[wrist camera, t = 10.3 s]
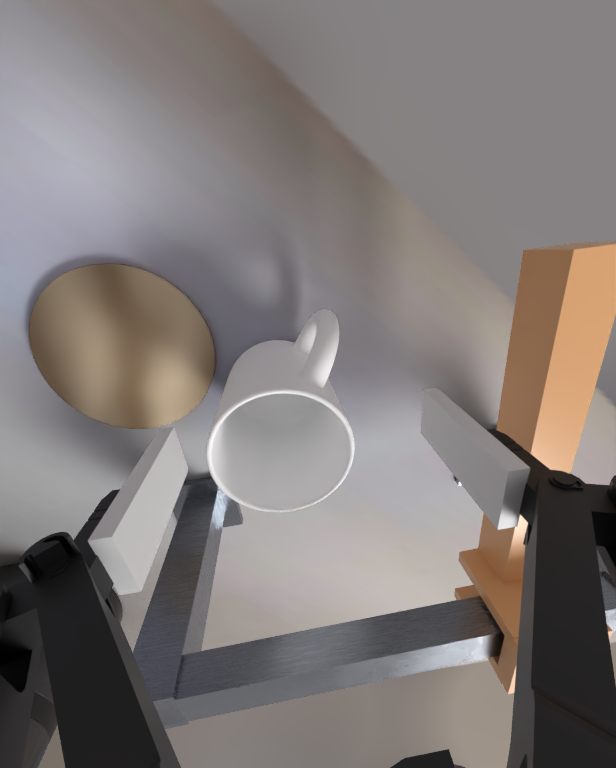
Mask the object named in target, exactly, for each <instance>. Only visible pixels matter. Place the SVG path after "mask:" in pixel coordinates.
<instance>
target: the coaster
mask: <svg viewBox="0 0 616 768" xmlns="http://www.w3.org/2000/svg"><path fill="white" fill-rule="evenodd" d="M29 338H30V346H31V350H32V353H33V357H34V359H35V362H36V364H37V366H38V369H39V370H40V372H41V374H42V375H43V377H44V379H45V380H46V381H47V383H48V384H49V385H50V387H51V388H52V389H53V390H54V391H55V392H56V393H57V394H58V395H59V396H60V397H61V398H62V399H63V400H64V401H65V402H67V403H68V404H69V405H70V406H72V407H73V408H75V409H76V410H78V411H79V412H81V413H83V414H85V415H86V416H88V417H90V418H93V419H95V420H97V421H100V422H103V423H106V424H109V425H113V426H117V427H122V428H131V429H145V428H154V427H159V426H163V425H166V424H169V423H172V422H174V421H176V420H178V419H180V418H182V417H184V416H185V415H187V414H188V413H190V412H191V411H192V410H193V409H194V408H195V407H196V406H197V405H198V404H199V403H200V402H201V400H202V399H203V397H204V396H205V394H206V393H207V391H208V388H209V386H210V384H211V381H212V378H213V374H214V370H215V348H214V343H213V339H212V336H211V333H210V330H209V328H208V325H207V323H206V321H205V319H204V318H203V316H202V315H201V313H200V311H199V310H198V309H197V307H196V306H195V305H194V304H193V303H192V301H191V300H190V299H189V298H188V297H187V296H186V295H185V294H184V293H183V292H182V291H180V290H179V289H178V288H176V287H175V286H174V285H173V284H171V283H169V282H168V281H166V280H165V279H163V278H161V277H159V276H157V275H155V274H153V273H151V272H149V271H146V270H143V269H140V268H137V267H132V266H127V265H122V264H95V265H88V266H84V267H79V268H76V269H74V270H71V271H68V272H66V273H65V274H63V275H61V276H59V277H57V278H56V279H55V280H54V281H52V282H51V283H50V284H49V285H48V286H47V287H46V288H45V289H44V290H43V292H42V293H41V294H40V296H39V297H38V299H37V301H36V302H35V305H34V308H33V310H32V313H31V318H30V323H29Z"/></svg>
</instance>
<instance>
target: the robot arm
mask: <svg viewBox="0 0 616 768" xmlns="http://www.w3.org/2000/svg"><path fill="white" fill-rule="evenodd" d="M421 434H422V435H423V436H424V438H425V439H426V440H427V441H428V443H429V444H430V445H431V446H432V448H433V449H434V450H435V451H436V453H437V454H438V455H439V457H440V458H441V459H442V460H443V462H444V463H445V464H446V465H447V467H448V468H449V469H450V470H451V472H452V473H453V474H454V475H455V477H456V478H457V479H458V481H459V482H460V483H461V484H462V486H463V487H464V488H465V489H466V491H467V492H468V493H469V494H470V496H471V497H472V498H473V499H474V501H475V502H476V503H477V505H478V506H479V507H480V508H481V510H482V511H483V512H484V513H485V515H486V516H487V517H488V518H489V520H490V521H491V522H492V524H493V525H494V526H495V527H496V529H497V530H500V529H506V528H512V527H517V526H518V521H519V517H520V515H521V516H522V517H523V518H524V519H525V520H526V521H527V522H528V525H527V529H526V534H525V538H524V542H523V544H524V545H525V556H524V570H523V583H522V597H521V610H520V624H519V637H518V651H517V664H516V678H515V692H514V705H513V720H512V732H511V743H510V751H509V757H508V763H507V768H616V686H615V679H614V671H613V664H612V657H611V650H610V642H609V635H608V628H607V621H606V614H605V606H604V599H603V592H602V585H601V578H600V570H599V563H598V556H597V550H598V552H599V554H600V556H601V558H602V560H603V562H604V564H605V566H606V568H607V570H608V572H609V574H610V576H611V578H612V580H613V582H614V584H615V586H616V476H614V477H613V478H612V480H611V483H610V485H596V484H585V483H584V482H583V481H582V480H581V479H580V478H578V477H576V476H574V475H572V474H570V473H567V472H563V471H558V470H550V469H549V468H548V467H546V466H545V465H544V464H543V463H541V462H540V461H539V460H538V459H536V458H535V457H534V456H533V455H531V454H530V453H529V452H528V451H526V450H524V449H523V447H522V446H520V445H519V444H516V442H515V441H514V440H513V439H512V438H510V437H509V436H508V435H506V434H504V433H502V432H500V431H498V430H495V429H492V430H486V429H485V428H483V427H482V426H481V425H480V424H479V423H478V422H476V421H475V420H474V419H473V418H472V417H471V416H469V415H468V414H467V413H466V412H465V411H464V410H462V409H461V408H460V407H459V406H458V405H457V404H455V403H454V402H453V401H452V400H451V399H450V398H448V397H447V396H446V395H445V394H444V393H443V392H441V391H440V390H439V389H438V388H437V387H435V388H428V389H423V391H422V417H421ZM188 470H189V469H188V466H187V463H186V460H185V457H184V454H183V452H182V449H181V446H180V443H179V440H178V437H177V434H176V431H175V429H174V427H171V428H164V429H159V430H158V432H157V433H156V435H155V436H154V438H153V439H152V441H151V443H150V444H149V446H148V447H147V449H146V450H145V452H144V453H143V455H142V457H141V458H140V460H139V461H138V463H137V464H136V466H135V467H134V469H133V471H132V472H131V474H130V475H129V477H128V478H127V480H126V482H125V483H124V485H123V486H122V488H121V489H119V490H113V491H111V492H110V493H109V494H108V495H107V496H106V497H105V498H103V499H102V500H101V502H100V503H99V504H98V506H97V507H96V509H95V510H94V513H92V515H91V516H90V517H89V519H88V521H87V522H86V523H85V525H84V526H83V528H82V529H81V531H80V532H79V533H78V535H77V536H76V538H75V539H74V541H73V539H72V537H71V536H70V535H69V534H68V533H66V532H59V533H55V534H51V535H49V536H47V537H45V538H43V539H41V540H40V541H38V542H37V543H35V544H33V545H32V546H31V547H30V548H29V549H28V550H27V551H26V552H25V553H24V554H23V556H22V557H21V559H20V561H19V564H16V565H11V566H6V567H2V568H0V768H38V767H39V764H40V762H41V760H42V758H43V756H44V753H45V751H46V749H47V746H48V744H49V742H50V740H51V737H52V735H53V733H54V731H55V729H56V727H57V724H58V729H59V735H60V740H61V746H62V751H63V757H64V762H65V768H181V767H180V764H179V762H178V760H177V757H176V755H175V753H174V750H173V748H172V745H171V743H170V741H169V739H168V736H167V734H166V731H165V729H164V726H163V724H162V722H161V719H160V717H159V715H158V712H157V710H156V707H155V705H154V703H153V700H152V698H151V696H150V693H149V691H148V689H147V686H146V684H145V681H144V679H143V677H142V674H141V672H140V670H139V667H138V665H137V662H136V660H135V658H134V655H133V653H132V651H131V648H130V646H129V643H128V641H127V639H126V636H125V634H124V632H123V629H122V627H121V625H120V622H121V619H122V605H121V603H120V600H119V598H118V597H117V595H116V594H115V593H114V591H113V590H112V589H111V588H112V586H113V585H114V587H115V589H116V590H117V592H118V594H119V595H124V594H129V593H135V592H141V591H142V588H143V586H144V583H145V581H146V578H147V575H148V573H149V570H150V568H151V565H152V563H153V560H154V557H155V555H156V552H157V550H158V547H159V545H160V542H161V539H162V537H163V534H164V532H165V529H166V527H167V524H168V521H169V519H170V516H171V514H172V511H173V509H174V506H175V504H176V501H177V498H178V496H179V493H180V491H181V488H182V486H183V483H184V480H185V478H186V475H187V473H188ZM596 548H597V549H596ZM391 768H465V767H463V766H459V765H454V764H453V761H452V758H451V755H450V752H449V749H448V750H443V751H438V752H433V753H428V754H424V755H418V756H413V757H409V758H405V759H403V760H401V761H400V762H398V763H397V764H395V765H394V766H392V767H391Z"/></svg>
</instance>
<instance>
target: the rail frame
mask: <svg viewBox="0 0 616 768" xmlns="http://www.w3.org/2000/svg"><path fill="white" fill-rule="evenodd" d="M495 430H496V429H495ZM456 483H457V484H458V485H462V484H461V483H460V482H459V481H458V479H457V478H456ZM173 510H174V513H175V515H176V518H177V520H178V522H177V525H176V528H175V531H174V534H173V537H172V540H171V543H170V546H169V549H168V551H167V554H166V557H165V560H164V563H163V566H162V569H161V572H160V575H159V578H158V581H157V584H156V587H155V590H154V592H153V595H152V598H151V601H150V604H149V607H148V610H147V613H146V616H145V619H144V622H143V625H142V628H141V631H140V634H139V636H138V639H137V642H136V645H135V648H134V651H133V655H134V658H135V660H136V662H137V665H138V667H139V670H140V672H141V674H142V677H143V679H144V681H145V684H146V686H147V689H148V691H149V693H150V696H151V698H152V700H153V703H154V705H155V707H156V710H157V712H158V715H159V717H160V719H161V722H162V724H163V726H164V729H167V728H172V727H176V726H182V725H186V724H188V723H189V721H192V720H197V719H201V718H206V717H211V716H216V715H220V714H225V713H230V712H235V711H239V710H244V709H249V708H254V707H258V706H263V705H268V704H273V703H277V702H282V701H287V700H291V699H296V698H301V697H306V696H310V695H315V694H320V693H325V692H329V691H334V690H339V689H344V688H348V687H353V686H357V685H363V684H367V683H372V682H377V681H382V680H386V679H391V678H396V677H400V676H405V675H410V674H415V673H419V672H424V671H429V670H434V669H438V668H443V667H448V666H453V665H457V664H462V663H467V662H472V661H476V660H481V659H486V658H491V657H495V656H500V654H501V649H502V645H503V641H504V637H505V635H504V634H503V632H502V630H501V629H500V627H499V625H498V624H497V622H496V621H495V619H494V617H493V616H492V614H491V612H490V611H489V609H488V607H487V606H486V604H485V603H484V601H483V599H482V598H481V596H476V597H471V598H466V599H461V600H456V601H451V602H446V603H441V604H436V605H431V606H426V607H421V608H416V609H411V610H406V611H401V612H396V613H391V614H386V615H381V616H376V617H371V618H366V619H361V620H356V621H351V622H346V623H341V624H336V625H331V626H326V627H320V628H315V629H310V630H305V631H300V632H295V633H290V634H285V635H280V636H275V637H270V638H265V639H260V640H255V641H250V642H245V643H240V644H235V645H230V646H225V647H220V648H215V649H210V650H205V651H201V648H202V642H203V637H204V631H205V625H206V619H207V613H208V608H209V602H210V596H211V590H212V584H213V579H214V573H215V567H216V561H217V555H218V550H219V544H220V538H221V532H222V527H228V526H234V525H239V524H242V523H243V518H242V514H241V511H240V507H239V503H237V502H236V501H234V500H233V499H231V498H230V497H228V496H227V495H226V494H225V493H224V492H223V491H222V490H221V489H220V488H219V487H218V486H217V484H216V483H215V481H214V480H213V478H212V477H207V478H201V479H195V480H189V481H184V483H183V486H182V488H181V491H180V493H179V496H178V498H177V501H176V504H175V506H174V509H173ZM596 549H597V548H596ZM597 556H598V563H599V570H600V578H601V585H602V592H603V599H604V606H605V614H606V621H607V625H608V626H609V627H610V628H611V629H612V630H613V632H614V631H616V586H615V584H614V582H613V580H612V578H611V576H610V574H609V572H608V570H607V568H606V566H605V564H604V562H603V560H602V558H601V556H600V554H599V552H598V550H597Z"/></svg>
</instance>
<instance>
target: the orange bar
mask: <svg viewBox="0 0 616 768" xmlns="http://www.w3.org/2000/svg"><path fill="white" fill-rule="evenodd" d="M615 315H616V242H585V243H570V244H563V245H556V246H549V247H541V248H534V249H527V250H524V251H523V257H522V263H521V270H520V277H519V283H518V290H517V296H516V303H515V310H514V316H513V323H512V329H511V336H510V343H509V349H508V356H507V362H506V369H505V376H504V382H503V389H502V395H501V402H500V409H499V415H498V422H497V428H496V430H498V431H500V432H502V433H504V434H506V435H508V436H509V437H510V438H512V439H513V440H514V441H515V442H516V444H519V445H520V446H522V447H523V449H524V450H526V451H528V452H529V453H530V454H531V455H533V456H534V457H535V458H536V459H538V460H539V461H540V462H541V463H543V464H544V465H545V466H546V467H548V468H549V469H550V470H558V471H563V472H567V473H571V469H572V466H573V462H574V459H575V455H576V452H577V448H578V445H579V441H580V438H581V434H582V431H583V427H584V424H585V420H586V417H587V413H588V410H589V406H590V403H591V399H592V396H593V392H594V389H595V385H596V382H597V378H598V375H599V371H600V368H601V364H602V360H603V357H604V354H605V350H606V347H607V343H608V339H609V336H610V332H611V329H612V326H613V322H614V318H615ZM527 525H528V522H527V521H526V520H525V519H524V518H523V517H522V516H521V515H520V517H519V521H518V526H517V527H512V528H506V529H500V530H497V529H496V527H495V526H494V525H493V524H492V522H491V521H490V520H489V518H488V517H487V516H486V515H485V513H484V514H483V521H482V527H481V534H480V541H479V547H478V549H473V550H467V551H462V552H460V553H459V562H460V563H461V565H462V566H463V568H464V570H465V571H466V573H467V575H468V576H469V578H470V580H471V581H472V583H473V584H474V585H471V586H466V587H461V588H456V589H455V597H456V599H457V600H461V599H466V598H471V597H476V596H481V598H482V599H483V601H484V603H485V604H486V606H487V607H488V609H489V611H490V612H491V614H492V616H493V617H494V619H495V621H496V622H497V624H498V625H499V627H500V629H501V630H502V632H503V634H504V635H505V637H504V641H503V645H502V649H501V654H500V656H495V657H491V658H488V659H489V661H490V663H491V665H492V667H493V668H494V670H495V672H496V674H497V676H498V678H499V680H500V681H501V683H502V684H503V686H504V688H505V690H506V691H507V693H508V694H511V693H514V692H515V678H516V664H517V651H518V637H519V624H520V610H521V597H522V583H523V570H524V556H525V545H524V544H523V542H524V538H525V534H526V529H527ZM607 628H608V635H609V638H610V636H611V634H612V632H613V630H612V629H611V628H610V627H609V626H608V625H607Z"/></svg>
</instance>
